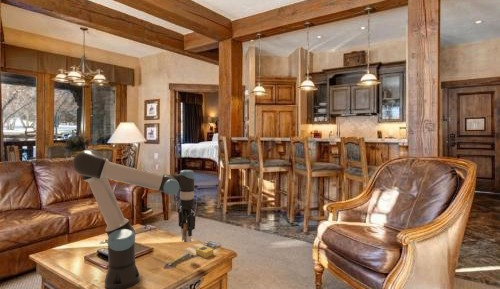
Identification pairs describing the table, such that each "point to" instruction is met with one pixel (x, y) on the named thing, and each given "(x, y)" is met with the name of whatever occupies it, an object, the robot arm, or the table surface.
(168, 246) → the table surface
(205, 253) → the yellow flat block
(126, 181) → the robot arm
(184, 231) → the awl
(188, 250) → the plywood panel
